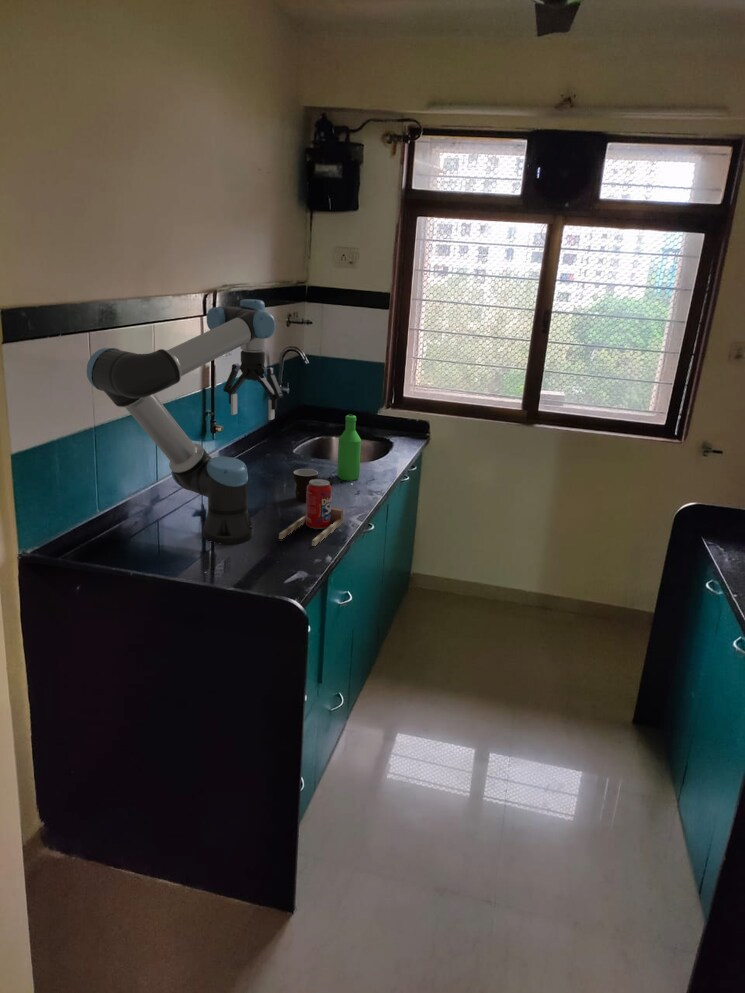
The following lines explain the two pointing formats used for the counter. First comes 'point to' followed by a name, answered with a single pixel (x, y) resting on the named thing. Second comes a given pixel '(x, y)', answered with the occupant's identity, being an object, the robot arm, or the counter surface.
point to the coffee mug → (303, 482)
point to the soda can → (318, 504)
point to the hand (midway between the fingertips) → (252, 416)
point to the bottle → (349, 451)
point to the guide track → (335, 519)
